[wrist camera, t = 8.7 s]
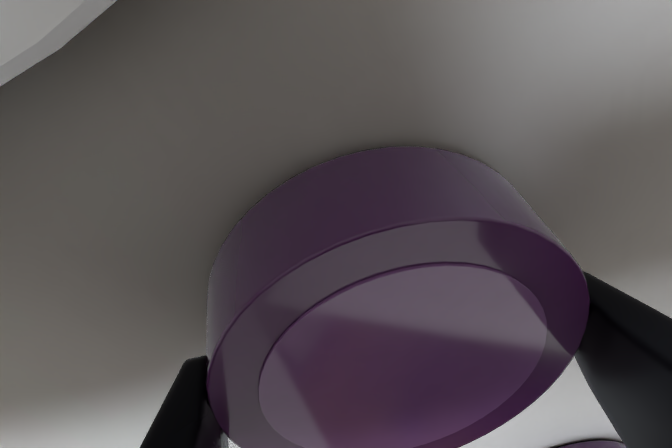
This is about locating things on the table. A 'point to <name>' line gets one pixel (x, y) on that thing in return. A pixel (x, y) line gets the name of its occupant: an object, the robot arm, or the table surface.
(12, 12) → the plate
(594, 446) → the bottom dish
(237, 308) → the top dish
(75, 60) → the table surface
